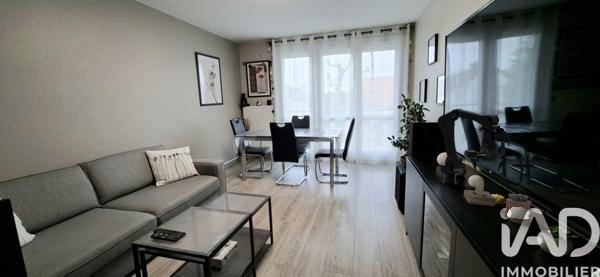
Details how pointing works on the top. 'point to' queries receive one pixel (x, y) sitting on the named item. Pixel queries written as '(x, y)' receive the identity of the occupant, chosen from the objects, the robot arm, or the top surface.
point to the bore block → (479, 198)
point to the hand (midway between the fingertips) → (486, 171)
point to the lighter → (517, 202)
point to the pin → (479, 189)
